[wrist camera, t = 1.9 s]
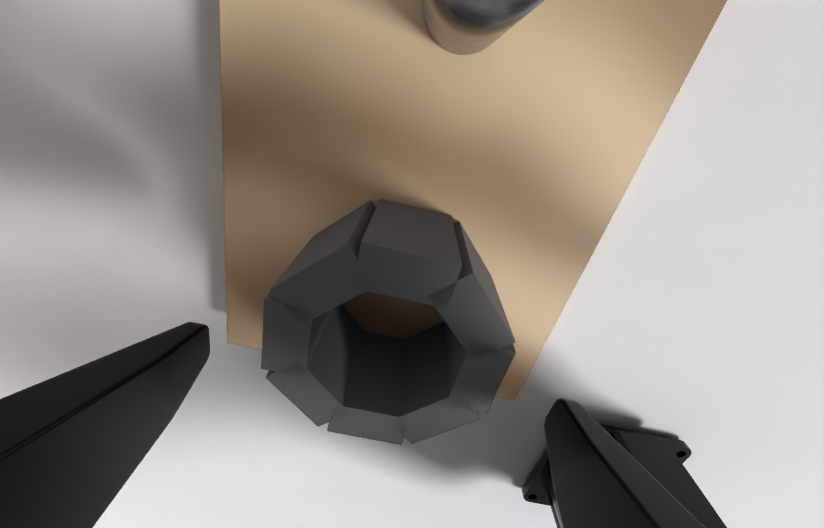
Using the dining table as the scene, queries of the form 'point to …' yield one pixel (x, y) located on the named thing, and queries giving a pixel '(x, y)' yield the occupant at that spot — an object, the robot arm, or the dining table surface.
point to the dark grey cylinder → (472, 21)
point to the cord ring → (381, 354)
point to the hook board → (442, 140)
